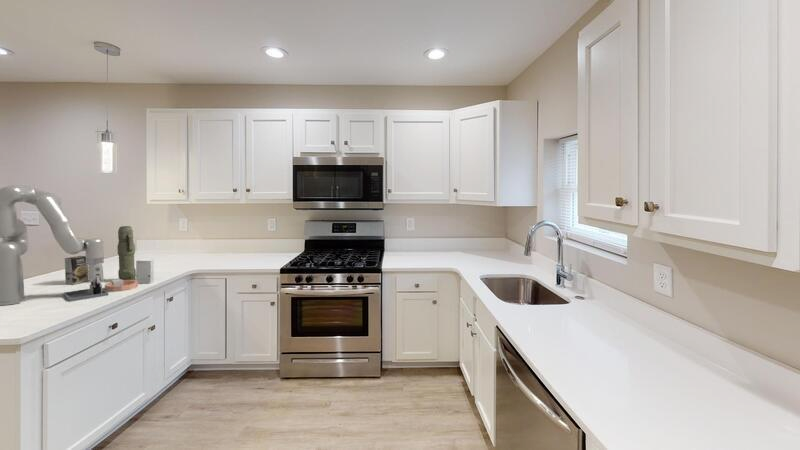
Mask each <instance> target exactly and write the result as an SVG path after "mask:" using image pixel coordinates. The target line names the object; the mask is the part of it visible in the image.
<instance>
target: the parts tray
mask: <svg viewBox="0 0 800 450" xmlns="http://www.w3.org/2000/svg"><path fill="white" fill-rule="evenodd" d="M107 296H109V291H106V290H105V288H103V287H102V293H101V294H95V295H91V294H90V288H87V289H85V288H84V289H78V290H72V291H65V292H63V297H64V298H65V299H66V300H67V301H69V302H76V301H81V300H87V299H88V300H89V299H95V298H101V297H107Z"/></svg>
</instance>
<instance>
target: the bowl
mask: <svg viewBox="0 0 800 450" xmlns="http://www.w3.org/2000/svg"><path fill="white" fill-rule="evenodd" d="M138 286H139V284H138V281H136V280H123V286H112V281H110V282H107V283H105V284H104V290H105V291H107V292H112V293H115V292H116V293H117V292H118V293H119V292H125V291H132V290H133V289H137V288H138Z"/></svg>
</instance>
